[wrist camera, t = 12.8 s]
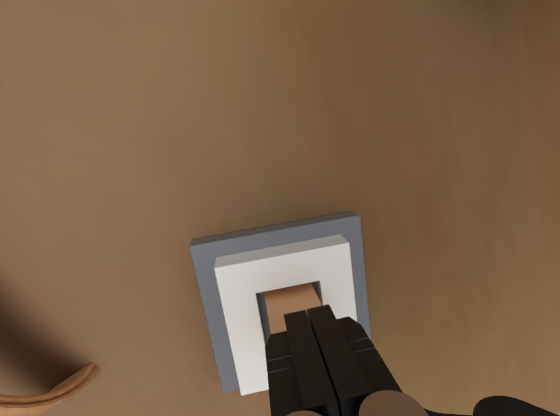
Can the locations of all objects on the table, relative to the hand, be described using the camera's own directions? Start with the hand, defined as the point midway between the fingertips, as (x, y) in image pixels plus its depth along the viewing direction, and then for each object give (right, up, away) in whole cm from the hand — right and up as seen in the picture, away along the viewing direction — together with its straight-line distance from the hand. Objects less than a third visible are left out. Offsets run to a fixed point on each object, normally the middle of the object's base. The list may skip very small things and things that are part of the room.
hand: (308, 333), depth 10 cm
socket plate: (0, -5, +22) cm, 23 cm away
